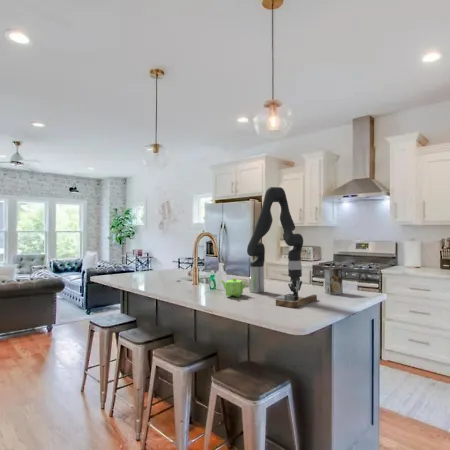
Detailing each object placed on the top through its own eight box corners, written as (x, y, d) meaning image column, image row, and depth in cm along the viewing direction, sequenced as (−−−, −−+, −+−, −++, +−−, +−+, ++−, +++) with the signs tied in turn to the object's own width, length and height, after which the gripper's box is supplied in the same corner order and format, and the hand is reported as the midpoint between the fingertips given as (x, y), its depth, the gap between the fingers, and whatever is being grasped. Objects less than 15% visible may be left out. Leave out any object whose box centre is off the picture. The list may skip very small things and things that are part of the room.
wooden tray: (275, 305, 186) (275, 299, 186) (298, 297, 206) (298, 292, 206) (295, 308, 178) (295, 302, 179) (316, 299, 198) (316, 294, 198)
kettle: (231, 299, 205) (231, 280, 206) (218, 296, 217) (218, 278, 217) (250, 296, 214) (250, 278, 214) (237, 293, 226) (236, 276, 226)
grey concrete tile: (274, 298, 206) (274, 297, 206) (281, 296, 212) (281, 295, 212) (289, 300, 200) (289, 299, 200) (296, 297, 206) (296, 297, 206)
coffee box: (337, 292, 222) (336, 267, 222) (342, 293, 216) (342, 268, 216) (324, 293, 219) (324, 268, 220) (330, 294, 213) (329, 269, 214)
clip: (284, 302, 191) (284, 295, 192) (289, 300, 195) (289, 293, 195) (294, 303, 188) (293, 296, 188) (298, 301, 191) (298, 294, 191)
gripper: (294, 266, 203) (295, 296, 202) (283, 269, 193) (284, 299, 192) (306, 267, 198) (306, 297, 198) (295, 269, 188) (296, 301, 187)
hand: (295, 298), depth 195 cm, fingers closed
